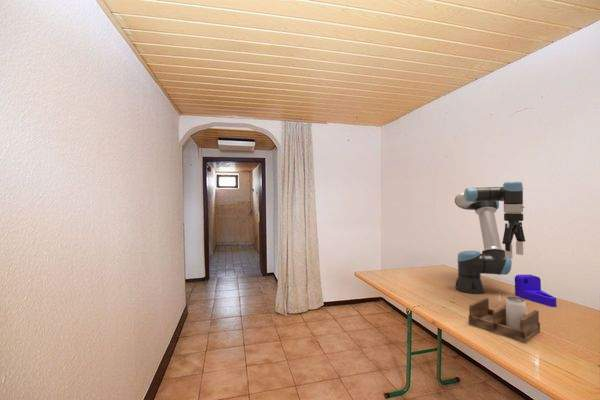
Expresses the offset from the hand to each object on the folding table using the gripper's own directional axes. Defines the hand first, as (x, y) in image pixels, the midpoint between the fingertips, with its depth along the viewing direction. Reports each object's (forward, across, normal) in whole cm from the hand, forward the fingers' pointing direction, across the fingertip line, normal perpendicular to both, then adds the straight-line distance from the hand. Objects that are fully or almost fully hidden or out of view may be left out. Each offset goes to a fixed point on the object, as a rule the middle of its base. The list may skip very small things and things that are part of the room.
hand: (514, 256), depth 132 cm
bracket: (+27, +25, -2) cm, 37 cm away
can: (+25, -27, -9) cm, 38 cm away
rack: (+26, -27, -4) cm, 38 cm away
